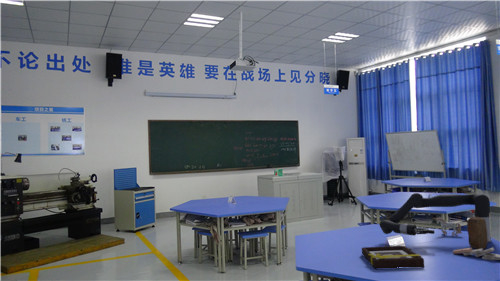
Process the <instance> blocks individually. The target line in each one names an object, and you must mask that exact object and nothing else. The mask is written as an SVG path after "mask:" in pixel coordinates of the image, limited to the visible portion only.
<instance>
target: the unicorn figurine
mask: <svg viewBox="0 0 500 281" xmlns="http://www.w3.org/2000/svg"><path fill="white" fill-rule="evenodd" d="M432 219H433V220H435V221H436V224H437V225H439V224H440V226H441V228H440V231H441V233H442V234H443V235H444V236H445V235H446V236H447V234H448V232H447V231H446V229H453V231H452V233H451V235H452V236H457V235H460V234H463V232H462V226H461V224H460V223H459V222H452V221H451V222H450V221H449V222H448V221H447V220H445V219H444V218H443V217H440V216H439V217H435V218H434V217H432Z"/></svg>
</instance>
